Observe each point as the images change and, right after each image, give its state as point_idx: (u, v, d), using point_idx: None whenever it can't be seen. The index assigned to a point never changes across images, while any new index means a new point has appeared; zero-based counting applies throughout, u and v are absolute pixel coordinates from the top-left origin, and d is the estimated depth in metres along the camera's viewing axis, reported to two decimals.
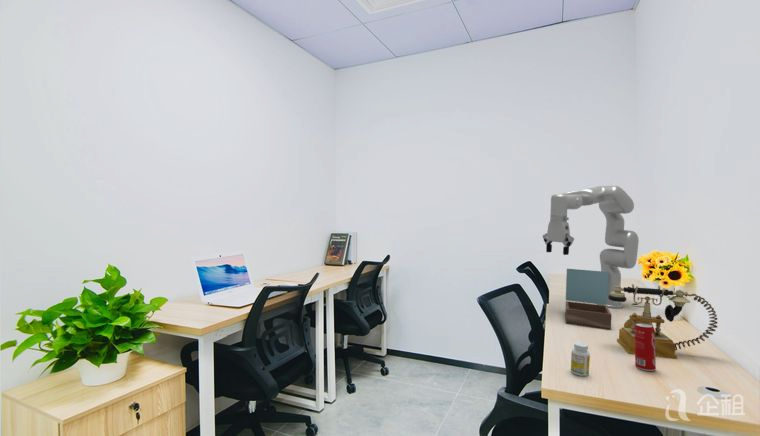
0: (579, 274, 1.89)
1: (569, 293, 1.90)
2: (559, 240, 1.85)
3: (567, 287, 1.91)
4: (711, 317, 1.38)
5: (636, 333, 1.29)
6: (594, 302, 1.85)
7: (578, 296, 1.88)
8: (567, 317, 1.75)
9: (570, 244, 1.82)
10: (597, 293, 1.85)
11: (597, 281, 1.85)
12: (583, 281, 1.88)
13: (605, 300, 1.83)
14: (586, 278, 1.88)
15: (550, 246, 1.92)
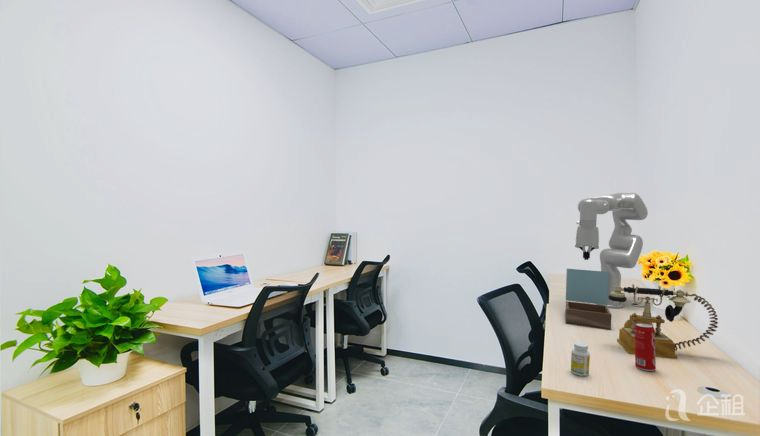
0: (579, 274, 1.89)
1: (569, 293, 1.90)
2: None
3: (567, 287, 1.91)
4: (711, 317, 1.38)
5: (636, 333, 1.29)
6: (594, 302, 1.85)
7: (578, 296, 1.88)
8: (567, 317, 1.75)
9: (581, 249, 1.93)
10: (597, 293, 1.85)
11: (597, 281, 1.85)
12: (583, 281, 1.88)
13: (605, 300, 1.83)
14: (586, 278, 1.88)
15: (586, 254, 1.92)
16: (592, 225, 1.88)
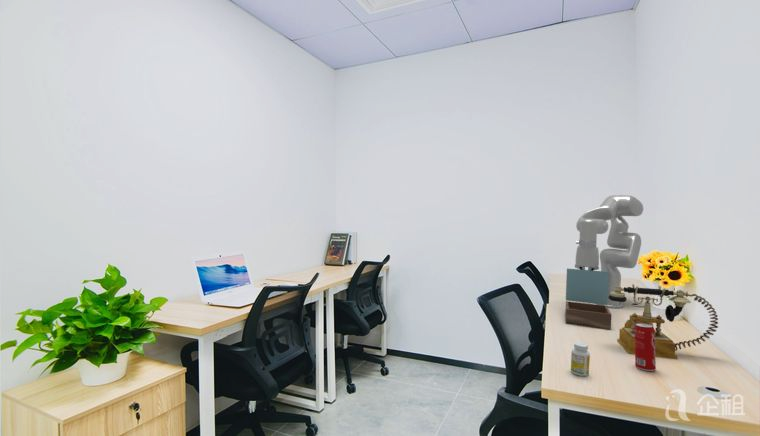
0: (579, 274, 1.88)
1: (569, 293, 1.89)
2: None
3: (567, 287, 1.90)
4: (712, 317, 1.38)
5: (636, 333, 1.29)
6: (594, 302, 1.85)
7: (578, 296, 1.88)
8: (567, 317, 1.75)
9: (580, 269, 1.90)
10: (597, 293, 1.84)
11: (597, 281, 1.85)
12: (583, 281, 1.87)
13: (605, 300, 1.83)
14: (586, 278, 1.87)
15: None
16: (592, 246, 1.85)
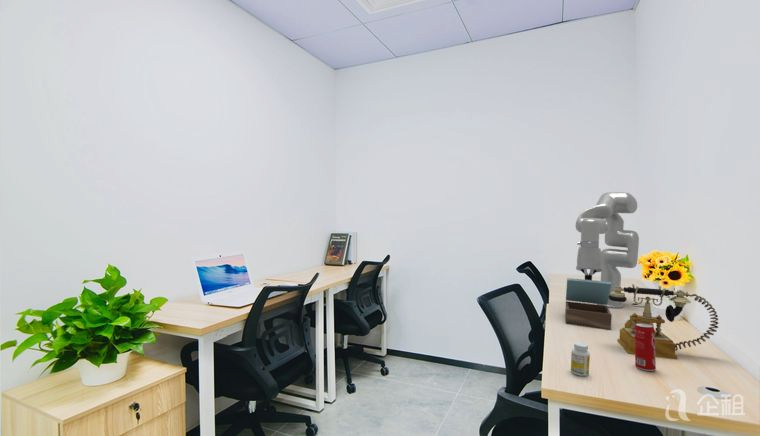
0: (580, 284, 1.79)
1: (569, 296, 1.87)
2: None
3: (567, 292, 1.86)
4: (712, 317, 1.38)
5: (636, 333, 1.29)
6: (594, 302, 1.84)
7: (578, 298, 1.86)
8: (567, 317, 1.75)
9: (582, 271, 1.81)
10: (597, 297, 1.81)
11: (599, 289, 1.78)
12: (584, 289, 1.80)
13: (605, 302, 1.81)
14: (587, 287, 1.79)
15: (588, 277, 1.79)
16: (594, 247, 1.76)
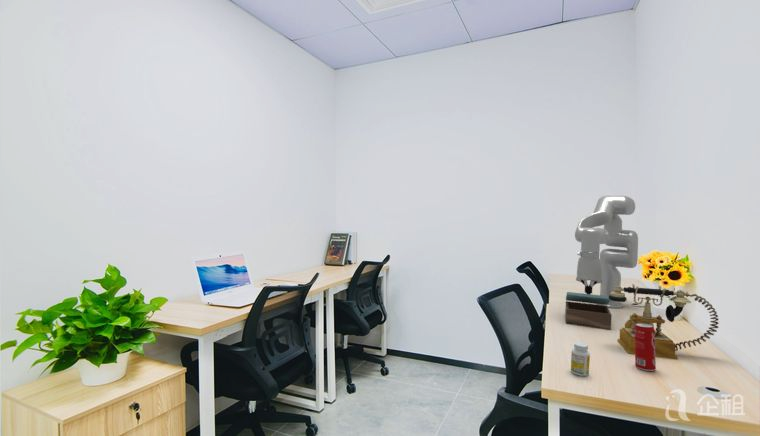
0: (580, 296, 1.76)
1: (569, 299, 1.86)
2: None
3: (567, 298, 1.84)
4: (712, 318, 1.38)
5: (636, 333, 1.29)
6: (594, 303, 1.84)
7: (578, 300, 1.85)
8: (567, 317, 1.75)
9: (582, 282, 1.76)
10: (598, 302, 1.80)
11: (599, 300, 1.75)
12: (584, 298, 1.78)
13: (605, 304, 1.81)
14: (587, 298, 1.76)
15: None
16: (595, 257, 1.71)
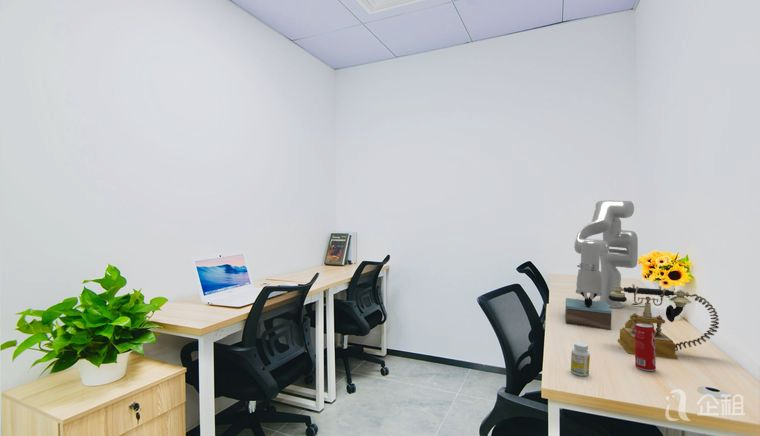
0: None
1: None
2: None
3: None
4: (712, 318, 1.38)
5: (636, 333, 1.29)
6: None
7: None
8: (567, 317, 1.75)
9: (582, 295, 1.75)
10: None
11: None
12: None
13: None
14: None
15: (588, 300, 1.74)
16: (594, 270, 1.70)
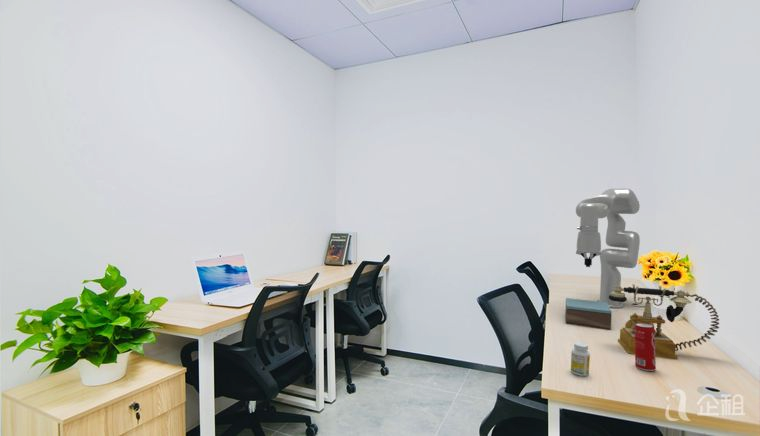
0: None
1: None
2: None
3: None
4: (713, 318, 1.37)
5: (636, 333, 1.29)
6: None
7: None
8: (567, 317, 1.75)
9: (582, 255, 1.84)
10: None
11: None
12: None
13: None
14: None
15: None
16: (594, 231, 1.79)
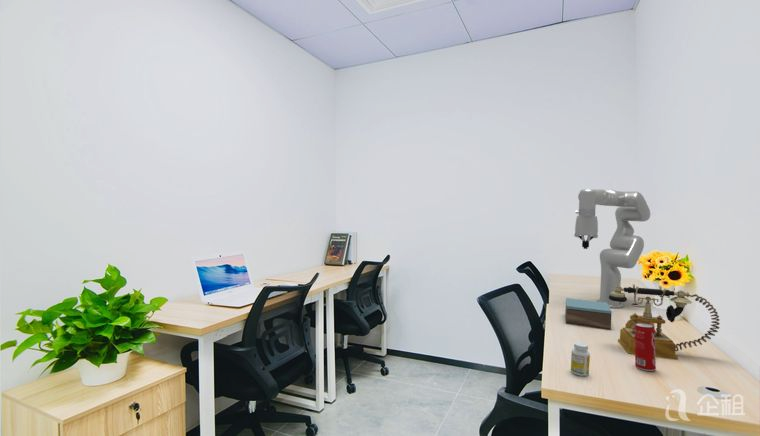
0: None
1: None
2: None
3: None
4: (713, 318, 1.37)
5: (636, 333, 1.29)
6: None
7: None
8: (567, 317, 1.75)
9: (580, 238, 1.96)
10: None
11: None
12: None
13: None
14: None
15: None
16: (591, 214, 1.91)
